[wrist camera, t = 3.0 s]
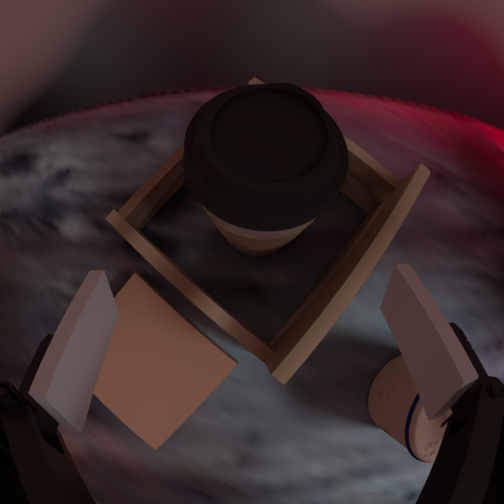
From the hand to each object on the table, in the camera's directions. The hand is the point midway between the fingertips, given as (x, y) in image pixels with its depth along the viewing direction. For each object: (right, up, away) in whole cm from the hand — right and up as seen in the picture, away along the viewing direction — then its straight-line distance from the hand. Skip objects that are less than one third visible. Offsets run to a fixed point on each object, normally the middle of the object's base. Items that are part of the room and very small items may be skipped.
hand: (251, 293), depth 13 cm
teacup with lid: (+17, -13, +12) cm, 24 cm away
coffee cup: (0, +5, +15) cm, 16 cm away
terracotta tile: (-10, -9, +12) cm, 18 cm away
